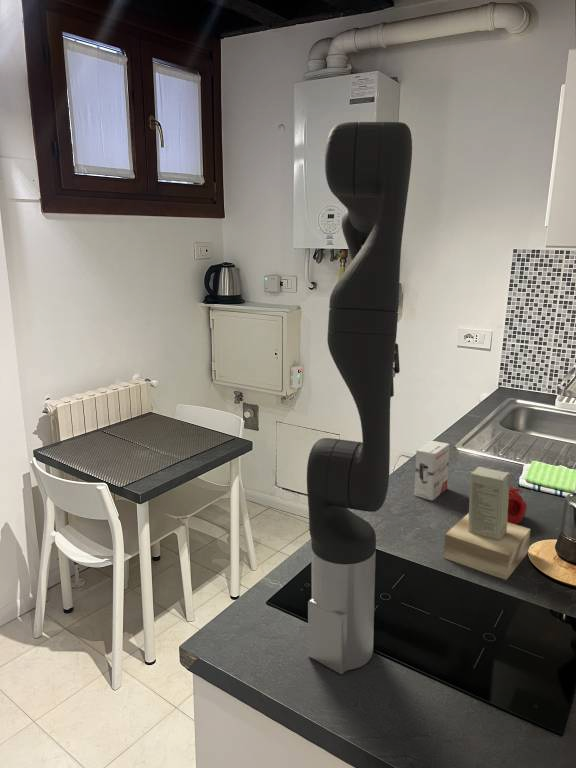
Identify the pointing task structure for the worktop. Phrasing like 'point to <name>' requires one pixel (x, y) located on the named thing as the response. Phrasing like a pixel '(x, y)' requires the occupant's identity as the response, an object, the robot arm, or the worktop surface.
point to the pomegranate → (515, 506)
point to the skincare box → (488, 502)
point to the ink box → (431, 470)
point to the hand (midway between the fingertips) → (377, 400)
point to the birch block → (487, 548)
